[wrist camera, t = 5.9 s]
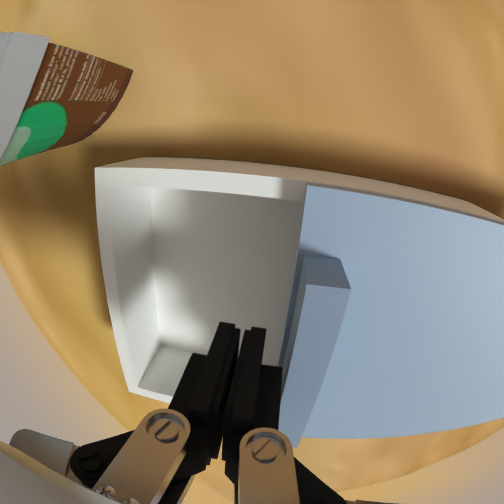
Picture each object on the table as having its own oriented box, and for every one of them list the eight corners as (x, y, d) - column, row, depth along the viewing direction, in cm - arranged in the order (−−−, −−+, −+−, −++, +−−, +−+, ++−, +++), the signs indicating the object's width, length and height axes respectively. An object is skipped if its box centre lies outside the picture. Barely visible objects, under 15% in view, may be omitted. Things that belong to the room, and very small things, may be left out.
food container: (5, 150, 15) (-101, 183, 6) (19, 70, 12) (-92, 74, 3) (130, 183, 15) (-21, 250, 6) (156, 72, 12) (1, 27, 3)
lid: (306, 182, 9) (312, 198, 7) (585, 251, 8) (611, 269, 5) (264, 425, 14) (259, 464, 11) (502, 411, 12) (514, 436, 10)
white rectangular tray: (144, 156, 14) (94, 167, 10) (465, 200, 13) (514, 225, 9) (155, 346, 19) (128, 391, 15) (402, 374, 17) (418, 422, 13)
